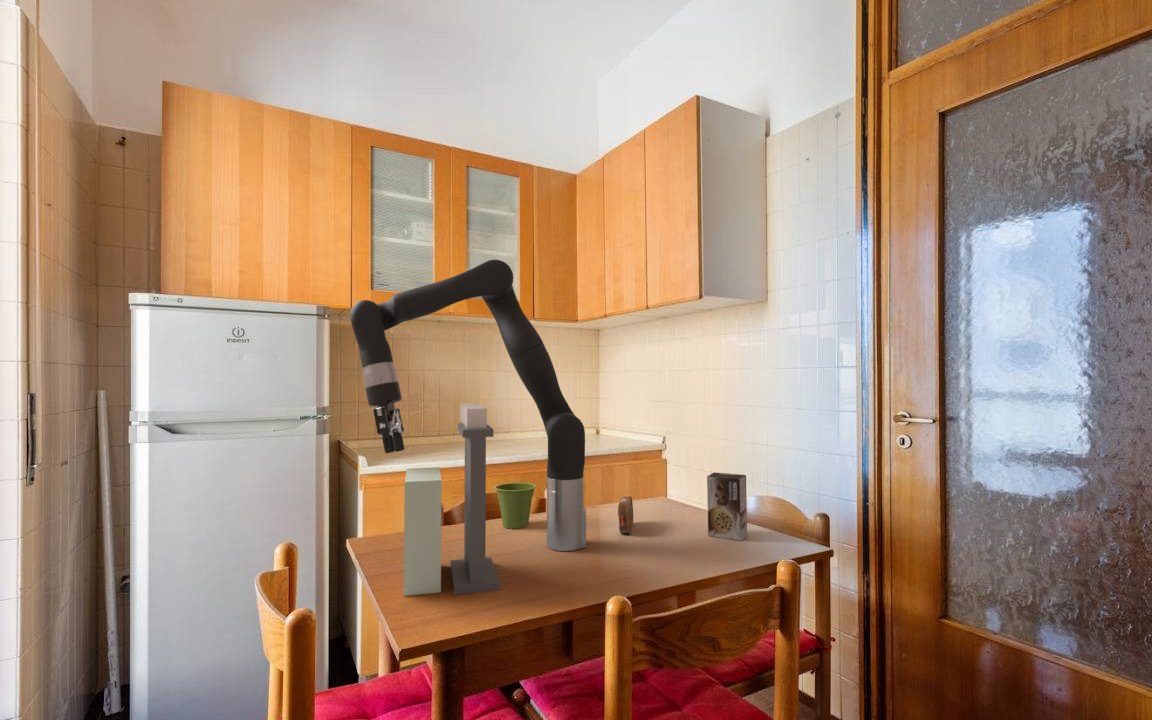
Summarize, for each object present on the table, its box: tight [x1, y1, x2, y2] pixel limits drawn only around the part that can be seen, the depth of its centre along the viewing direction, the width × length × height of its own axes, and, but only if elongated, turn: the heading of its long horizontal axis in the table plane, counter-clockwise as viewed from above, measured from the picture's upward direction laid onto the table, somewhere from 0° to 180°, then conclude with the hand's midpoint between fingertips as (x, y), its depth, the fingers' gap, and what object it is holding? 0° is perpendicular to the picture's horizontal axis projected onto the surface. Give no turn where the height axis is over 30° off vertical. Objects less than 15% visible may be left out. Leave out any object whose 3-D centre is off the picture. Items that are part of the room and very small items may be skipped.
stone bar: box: [459, 402, 488, 429], centre depth 123 cm, size 4×22×4 cm, turn 15°
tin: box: [617, 496, 634, 535], centre depth 153 cm, size 15×3×8 cm, turn 168°
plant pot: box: [494, 482, 537, 530], centre depth 156 cm, size 12×12×11 cm
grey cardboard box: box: [706, 472, 748, 541], centre depth 147 cm, size 9×6×16 cm
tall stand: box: [450, 422, 501, 596], centre depth 116 cm, size 9×16×32 cm, turn 15°
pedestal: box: [403, 466, 443, 597], centre depth 115 cm, size 7×16×22 cm, turn 15°
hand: (395, 451), depth 128 cm, fingers open, 8 cm apart
